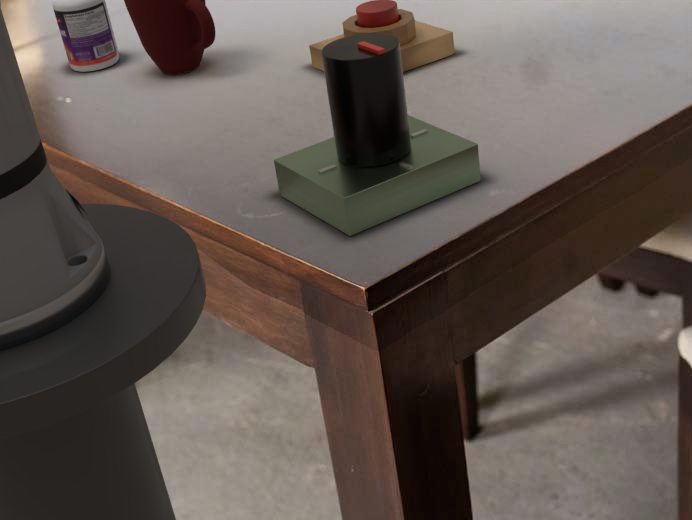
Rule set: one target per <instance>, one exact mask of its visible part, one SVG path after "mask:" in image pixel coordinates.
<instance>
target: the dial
mask: <svg viewBox="0 0 692 520" xmlns="http://www.w3.org/2000/svg"><path fill="white" fill-rule="evenodd" d="M322 59H323V66H324V71H323V72H324V77H325V85H326V92H327V97H328V105H329V111H330V118H331V124H332V130H333V131H332V132H333V137H334V138H335V144H336V151H337V157H338V159H339V160H340V161H341V162H343V163H345V164H347V165H351V166H358V167H370V166H379V165H384V164H388V163H391V162H394V161H397V160H399V159H401V158H403V157H404V156H406V155H407V154H408V153H409V152H410V150H411V141H410V132H409V123H408V115H409V114H408V105H407V96H406V89H405V88H406V87H405V79H404V78H405V77H404V72H403V69H402V60H401V51H400V42H399V40H398V38H396V37H395V36H392V35H388V34H381V33H367V34H358V35H352V36H347V37H344V38H340V39H337V40H335V41H333V42H331V43H329V44H327V45H326V46H325V47H324V48H323V49H322Z"/></svg>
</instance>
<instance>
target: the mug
mask: <svg viewBox="0 0 692 520" xmlns="http://www.w3.org/2000/svg"><path fill="white" fill-rule="evenodd" d="M123 1H124V5H125V8H126V11H127V12H128V16H129V18H130V20H131V22H132V24H133V26H134V29H135V31H136V34H137V36H138V38H139V40H140V44H141V45H142V47H143V49H144V51H145V53H146V54H147V55H148V57H149V58H150V59H151V60H152V62H153V63H154V65H156V66H157V68H158V69H159V70H160V71H161V72H162V73H163V74H166V75H172V76H173V75H182V74H187V73H190V72H193V71H195V70H197V69H198V68H199V67H201V63H202V61H203V60H202V59H203V56H204V53H205V50H206V49H208V48H210V47H211V46H212V45H213V44H214V42H215V39H216V25H215V22H214V17H213V16H212V14H211V12H210V10H209V8H208V6H206V0H123Z"/></svg>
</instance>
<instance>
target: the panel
mask: <svg viewBox="0 0 692 520" xmlns="http://www.w3.org/2000/svg"><path fill="white" fill-rule="evenodd" d="M408 123H409V132H410V141H411V150H410V152H409V153H408V154H407V155H406V156H404V157H403V158H401V159H399V160H397V161H394V162H391V163H388V164H384V165H379V166H370V167H358V166H351V165H347V164H345V163H343V162H341V161H340V160H339V159H338V157H337V151H336V144H335V138H334V136H333V137H331V138H327V139H325V140H322V141H320V142H317V143H314V144H312V145H309V146H306V147H304V148H301V149H298V150H295V151H293V152H290V153H288V154H285V155H283V156H279V157H277V158H275V159H273V165H274V170H275V176H276V180H277V186H278V191H279V195H280V196H281V197H282V198H284V199H286V200H287V201H289V202H291V203H293V204H294V205H295V206H297V207H299V208H301V209H302V210H304V211H307V212H308V213H310V214H311V215H313V216H314V217H317V218H318V219H320V220H322V221H323V222H325V223H327V224H328V225H330V226H331V227H333V228H335V229H337V230H338V231H340V232H342V233H344V234H346V235H347V236H349V237H352V236H355V235H356V234H359V233H361V232H364V231H366V230H368V229H371V228H373V227H375V226H377V225H379V224H382V223H385V222H387V221H389V220H392V219H393V218H396V217H399V216H401V215H403V214H406V213H408V212H410V211H412V210H413V211H414V210H415V209H418V208H420V207H422V206H425V205H427V204H429V203H431V202H434V201H437V200H439V199H441V198H444V197H446V196H448V195H451V194H453V193H455V192H457V191H460V190H462V189H464V188H467V187H470V186H472V185H475V184H477V183H480V182H481V180H482V179H481V166H480V153H479V144H478V143H476V142H474V141H472V140H469V139H467V138H465V137H462V136H460V135H457V134H454V133H453V132H450V131H447V130H445V129H443V128H440V127H438V126H436V125H433V124H431V123H428V122H426V121H424V120H421V119H419V118H416V117H414V116H412V115H409V114H408Z"/></svg>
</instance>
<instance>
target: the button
mask: <svg viewBox="0 0 692 520" xmlns="http://www.w3.org/2000/svg"><path fill="white" fill-rule="evenodd" d="M398 9H399V7H398V3H397V1H395V0H369V1H365V2H363V3H361V4H358V5H357V6H356V7H355V15H357V22H358V26H359V27H362V28H377V27H384V26H388V25H391V24H394V23H397V22H398V21H399V16H398Z"/></svg>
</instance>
